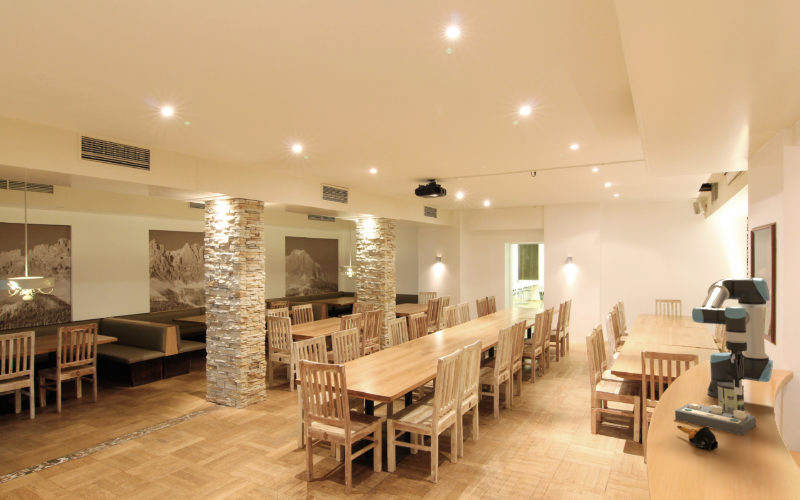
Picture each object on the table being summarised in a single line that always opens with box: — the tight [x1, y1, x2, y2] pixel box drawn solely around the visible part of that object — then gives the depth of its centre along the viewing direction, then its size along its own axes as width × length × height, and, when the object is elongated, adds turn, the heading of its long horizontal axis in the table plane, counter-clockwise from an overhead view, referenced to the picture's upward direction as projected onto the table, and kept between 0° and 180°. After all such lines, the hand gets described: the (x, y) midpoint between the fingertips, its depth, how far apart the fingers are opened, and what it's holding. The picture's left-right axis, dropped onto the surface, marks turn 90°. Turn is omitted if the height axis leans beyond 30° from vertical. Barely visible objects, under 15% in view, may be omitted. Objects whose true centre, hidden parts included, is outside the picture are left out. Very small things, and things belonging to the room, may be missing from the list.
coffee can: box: [717, 382, 745, 412], centre depth 215 cm, size 10×10×14 cm
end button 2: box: [734, 410, 747, 420], centre depth 199 cm, size 4×4×5 cm
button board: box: [674, 402, 757, 436], centre depth 204 cm, size 18×26×4 cm
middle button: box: [709, 404, 722, 415], centre depth 206 cm, size 4×4×5 cm
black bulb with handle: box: [676, 425, 719, 451], centre depth 181 cm, size 9×11×18 cm
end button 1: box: [688, 403, 701, 410], centre depth 213 cm, size 4×4×5 cm
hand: (738, 394), depth 199 cm, fingers closed
